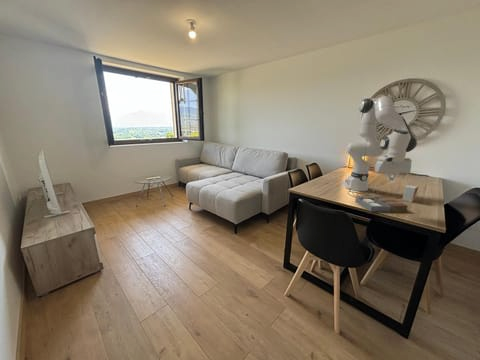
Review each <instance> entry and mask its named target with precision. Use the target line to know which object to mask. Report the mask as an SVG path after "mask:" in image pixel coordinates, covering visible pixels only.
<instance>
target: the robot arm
mask: <svg viewBox="0 0 480 360" xmlns="http://www.w3.org/2000/svg"><path fill="white" fill-rule="evenodd" d="M358 108H359V112H360V113H362V116H361V121H360V124H359V131H358V134H359V136H360V138H362V139H365V140H366V142H363V141H362V142H361V141H359V142H358V141H357V142H349V143H348V144H347V146H346V153H347V154H348V155H349V156H350V157H351V158H352V160H353V169H352V171H351V173H350V176H348V177H346V178H345V180H344V182H341V185H342V186H343V187H344V188H345V189H347V190H352V191H356V192H367V191H368V190H369V188H370V187H369V174H370V173H369V172H370V171H369V170H370V162H368V161H367V160H365V159H364V158H363V157H371V158H374V157H377V161H376V163H375V165H374V172H375V173H376V174H386V179H387V181H394V180H395V178H396V177H397V175H398V174H410V173H411V169H412V159H411V158H409V157H406V155H407V153H409V152H411V151H413V150H414V149H415V148H416V147H417V145H418V144H417V143H418V141H417V139H416V137H415V136H414V135H413V133H412V131H411V129H410V127H409V125H408V123H407V121H406V119H405V117H403V116H402V115H400V113H398V111H397V110H396V107H395V101H394V100H393V99H392V98H391V97H390V96H385V95H384V96H381V97H378V98H375V97H374V98H369V97H368V98H364V99H362V100H361V101H360V104H359V107H358ZM378 123H379V124H381V125H386V126H390V127H393V128H394V129H396V130H393V131H392V133H390V134H389V135H385V136H383V137H381V139H380V140H378V138H377V133H376V131H377V125H378ZM384 151H387V153H385V154H384Z"/></svg>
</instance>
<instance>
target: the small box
mask: <svg viewBox="0 0 480 360" xmlns="http://www.w3.org/2000/svg"><path fill="white" fill-rule="evenodd" d="M404 187H405V188H404V191H403V195H402V201H405V202H408V203H409V202H410V203H413V202H414V201H415V200H416V197H417V194H418V193H417V192H418V189H419V186H417V185H412V184H408V185H406V186H404Z"/></svg>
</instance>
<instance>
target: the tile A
mask: <svg viewBox="0 0 480 360" xmlns="http://www.w3.org/2000/svg"><path fill="white" fill-rule="evenodd" d="M363 201H364V202H366V203H368V204H369V203H375V201H373V200H371V199H363Z"/></svg>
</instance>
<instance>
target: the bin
mask: <svg viewBox="0 0 480 360" xmlns="http://www.w3.org/2000/svg"><path fill="white" fill-rule="evenodd" d="M374 197H375V196H374ZM374 197H373V196H372V197H371V196H369V197H368V196H367V197H361V196H360V197H359V196H358V197H355V201H354V202H355V203H356V204H358V205H360V206H361V207H363V208H364V209H365V210H367V211H369V212H373V213H374V212H375V213H376V212H380V213H381V212H383V213H385V212H388V213H389V212H390V209H391V206H389V205H387V204H385V203H384V202H382V201H380V200H378V199H376V198H374ZM363 199H371V200H373V201H375V203H377V204H379V205H381V206H371V205H369V204H368V203H366V202H364V201H363ZM390 213H391V212H390Z"/></svg>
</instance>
